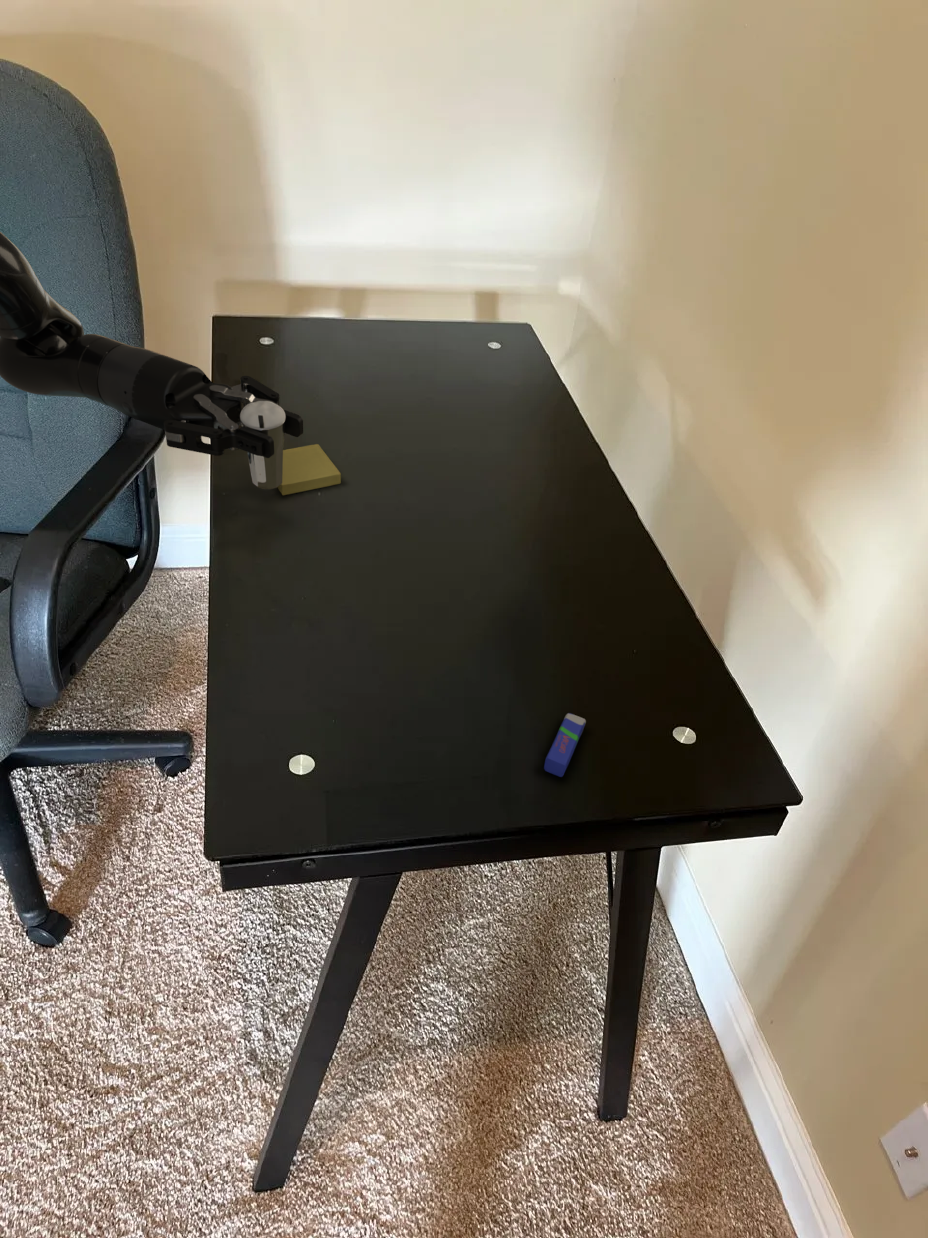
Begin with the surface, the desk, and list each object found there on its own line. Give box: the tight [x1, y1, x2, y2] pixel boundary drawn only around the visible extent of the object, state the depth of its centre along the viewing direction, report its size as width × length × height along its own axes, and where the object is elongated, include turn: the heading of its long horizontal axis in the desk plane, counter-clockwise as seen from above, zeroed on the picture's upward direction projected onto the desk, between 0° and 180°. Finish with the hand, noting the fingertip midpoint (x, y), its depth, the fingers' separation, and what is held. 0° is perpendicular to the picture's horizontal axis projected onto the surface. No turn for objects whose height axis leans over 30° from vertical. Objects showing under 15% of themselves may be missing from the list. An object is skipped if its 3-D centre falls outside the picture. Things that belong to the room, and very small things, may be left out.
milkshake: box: [240, 401, 286, 490], centre depth 86 cm, size 4×5×10 cm
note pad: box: [276, 443, 342, 496], centre depth 103 cm, size 8×8×2 cm
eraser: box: [543, 712, 587, 778], centre depth 74 cm, size 2×6×2 cm, turn 157°
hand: (286, 437), depth 85 cm, fingers closed on milkshake, 4 cm apart
